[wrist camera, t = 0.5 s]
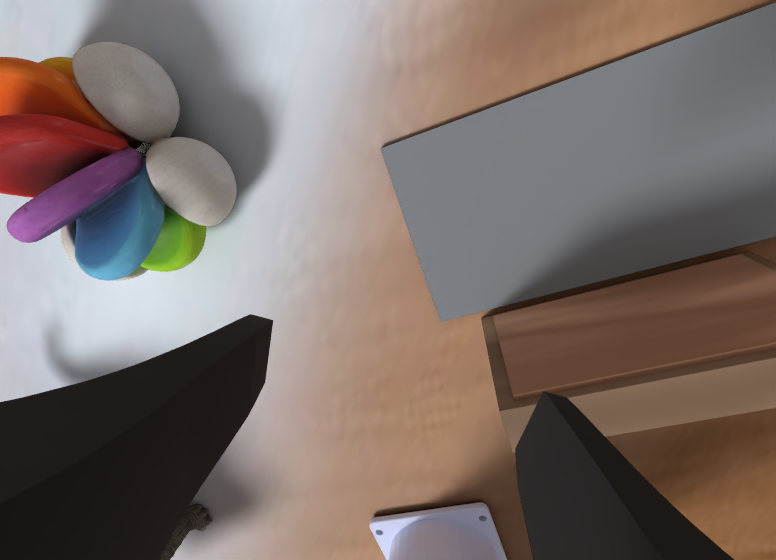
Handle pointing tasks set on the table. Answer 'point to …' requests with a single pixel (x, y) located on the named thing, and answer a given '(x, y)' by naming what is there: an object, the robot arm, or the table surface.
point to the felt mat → (598, 172)
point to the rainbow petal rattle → (107, 162)
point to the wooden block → (644, 349)
